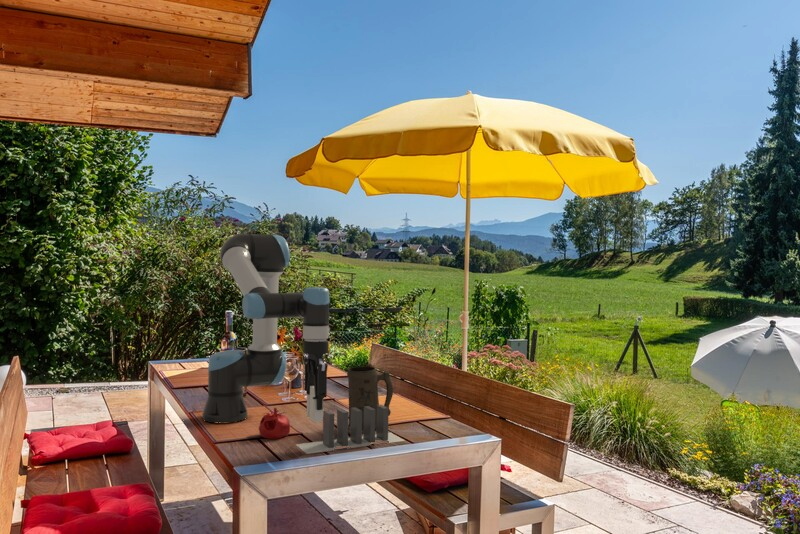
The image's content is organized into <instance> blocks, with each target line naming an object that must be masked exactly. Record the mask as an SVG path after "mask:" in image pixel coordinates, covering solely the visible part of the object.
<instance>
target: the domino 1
mask: <svg viewBox="0 0 800 534" xmlns="http://www.w3.org/2000/svg"><path fill="white" fill-rule="evenodd" d="M313 397H315V390H314V386H310V417H308V418H309V420H310V421H312V422H313V423H315V424H319V423H321V421H313V408H314V399H313Z"/></svg>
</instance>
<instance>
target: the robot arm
mask: <svg viewBox="0 0 800 534" xmlns="http://www.w3.org/2000/svg"><path fill="white" fill-rule="evenodd" d="M220 249H221V250H220V254H219V255H220V256H219V258H220V262H221V265H222V266H223V268H224V269H225V270H226V271H228V272H230V274H231V276H232V278H233V280H234V281H235V283H236V284H237V287H238V288H239V290H240V292H241V294H242V296H243V298H242V301H241V308H242V314H243V315H244V317H245V318H246V319H251V320H253V321H252V343H251V344H250V345H249V346H248V347H247V352H246V353H245V352H244V350H243V349H228V350H221V351H219V352H215V353H212V354H211V356H210V357H209V359H208V368H207V371H208V372H207V373H208V375H207V377H208V379H207V382H208V383H207V384H208V385H207V386H208V387H207V399H206V402H205V405H204V407H203V409H202V410H203V411H202V421H203V420H205V421H209V422H218V423H217V424H220V423H219V422H233V423H236V422H235V421H239V422H241V421H240V420H242V421H244V420H243V419H245V418H246V419H247V418H248V408H247V405H246V403H245V399H244V395H243V391H244V387H245V388H246V387H256V386H271V385H276V384H279V383H280V382H281V381H282V380H283V379H284V377H285V375H286V372H287V363H288V361H287V356H286V354H285V352H284V351H283V350H282V346H280V345H279V344H278V321H279V320H278V319H284V318H286V319H289V318H290V319H291V318H303V319H302V320H303V322H302V323H303V324H302V339H304V340H303V341H302V352H303V353H304V354H306V355H307V357H305V358H304V359H303V363H304V379H303V380H304V385H303V386H304V388H303V389H304V392H305V394H306V417H307V418H310V386H314V390H315V397H313V399H314V408H313V421H320V422H321V421H322V422H323V411H324V398H327V395H328V394H327V391H328V387H327V384H328V383H327V382H328V381H327V380H328V377H327V376H328V374H327V373H328V367H329V365H328V363H325V360H324V355H325V354H327V353H329V347H330V346H329V343H330V342H329V341H328V339H329V338H330V337H329V331H331V328H330V324H329V322H330V301H331V300H330V291H329V289H328V288H326V287H306V288H305V289H304V290H303V291H302V292H301V291H299V292H298V291H297V292H284V293H283V292H279V287H280V286H279V281H280V276H281V275H282V274H283V273H284V268H286V267H288V266H289V264H290V256H291V253H290V247H289V244H288V242H287V240H286V239H285V238H284V237H283V236H282V235H278V234H261V233H257V234H256V233H238V234H235V235H232V236H231V237H230V238H228V239H227V240H226V241H225V242H224V243H223V245H222V246H221V248H220ZM246 419H245V420H246ZM205 421H204V422H205ZM313 421H312V422H313ZM209 422H208V423H209Z"/></svg>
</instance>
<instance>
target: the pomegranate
mask: <svg viewBox="0 0 800 534" xmlns="http://www.w3.org/2000/svg"><path fill="white" fill-rule="evenodd" d="M279 412H280V410H279V409H278V408H277V407H274V408H273V411H272V410H269V412H264V413H263V416H262V418H261V420H260V423H259V426H258V431H259V436H261V437H262V438H264V439H268V440H278V439H279V440H280V439H282V438H286V437H287V436H289V434H290V430H291V424H290V419H289V418H288V417H287V416H286V415H284V414H286V412H285V411H284V412H280V413H279Z"/></svg>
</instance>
